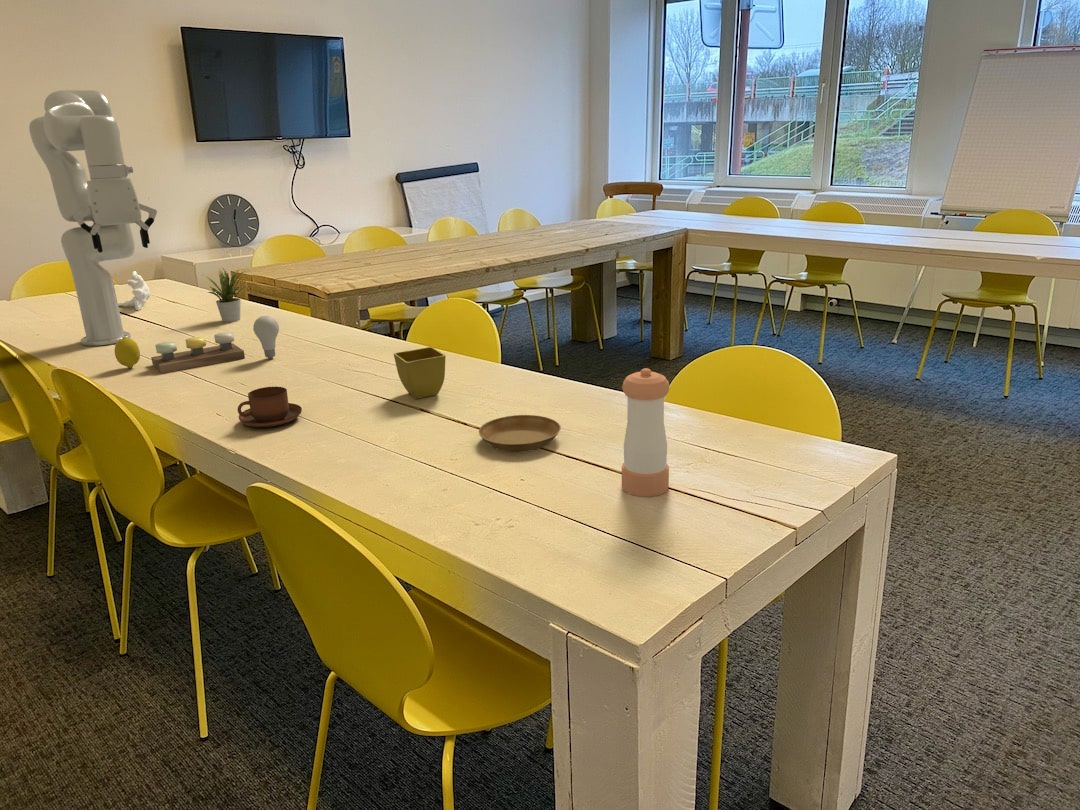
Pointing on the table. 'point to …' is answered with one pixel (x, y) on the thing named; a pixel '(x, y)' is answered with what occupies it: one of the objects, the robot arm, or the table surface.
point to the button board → (197, 358)
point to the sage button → (166, 350)
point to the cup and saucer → (268, 408)
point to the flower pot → (421, 371)
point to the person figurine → (137, 292)
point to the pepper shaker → (645, 435)
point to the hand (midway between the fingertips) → (123, 249)
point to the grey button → (224, 340)
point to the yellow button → (196, 345)
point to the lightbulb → (267, 334)
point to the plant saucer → (519, 432)
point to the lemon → (127, 352)
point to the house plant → (228, 297)
